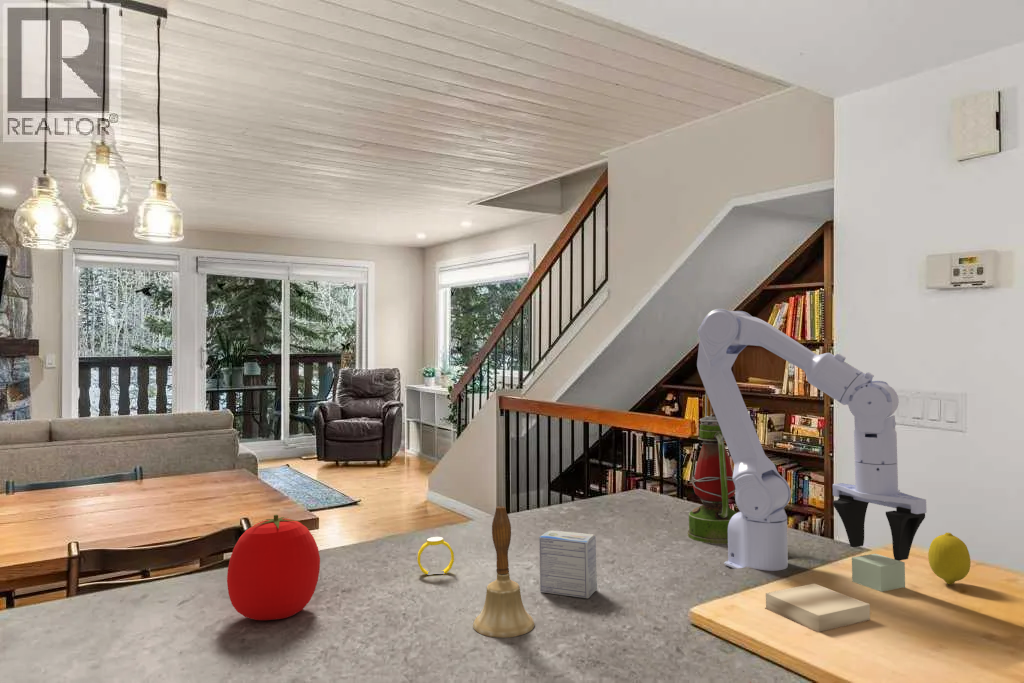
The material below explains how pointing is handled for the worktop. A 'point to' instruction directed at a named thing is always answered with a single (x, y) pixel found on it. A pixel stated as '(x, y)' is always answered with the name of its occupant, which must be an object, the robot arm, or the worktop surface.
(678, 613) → the worktop surface
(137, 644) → the worktop surface
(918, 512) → the robot arm
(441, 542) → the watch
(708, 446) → the lantern
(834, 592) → the slab top
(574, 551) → the medicine box
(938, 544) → the lemon
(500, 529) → the hand bell
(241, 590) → the tomato
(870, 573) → the cube
